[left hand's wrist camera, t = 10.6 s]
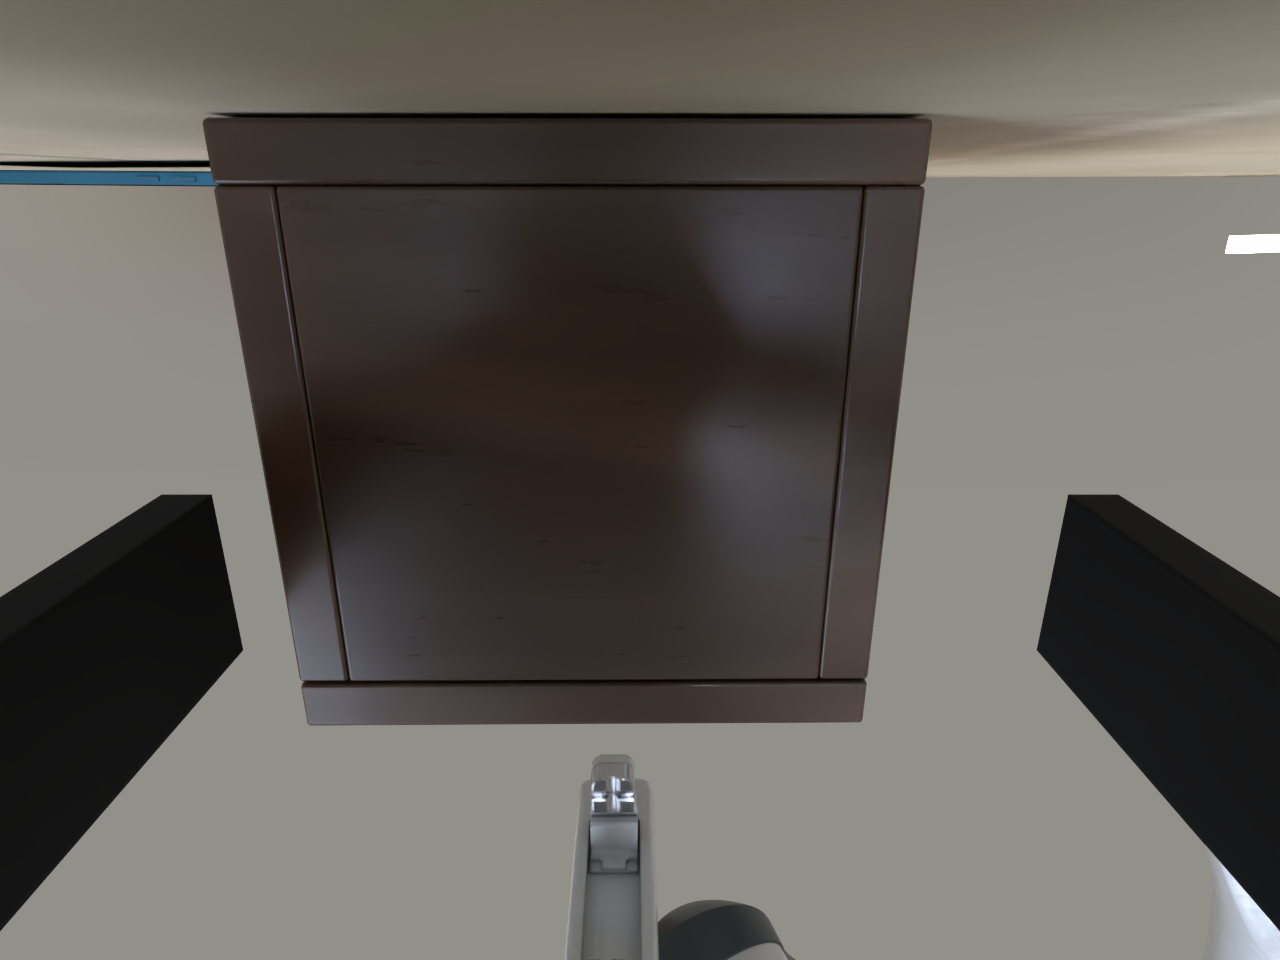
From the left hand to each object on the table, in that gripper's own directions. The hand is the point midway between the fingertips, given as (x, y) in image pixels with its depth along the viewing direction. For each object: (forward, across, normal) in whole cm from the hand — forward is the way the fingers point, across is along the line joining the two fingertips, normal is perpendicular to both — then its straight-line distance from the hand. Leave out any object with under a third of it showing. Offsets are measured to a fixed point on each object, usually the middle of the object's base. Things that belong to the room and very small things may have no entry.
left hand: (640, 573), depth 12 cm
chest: (+7, +1, -7) cm, 10 cm away
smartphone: (+22, +19, -7) cm, 30 cm away
